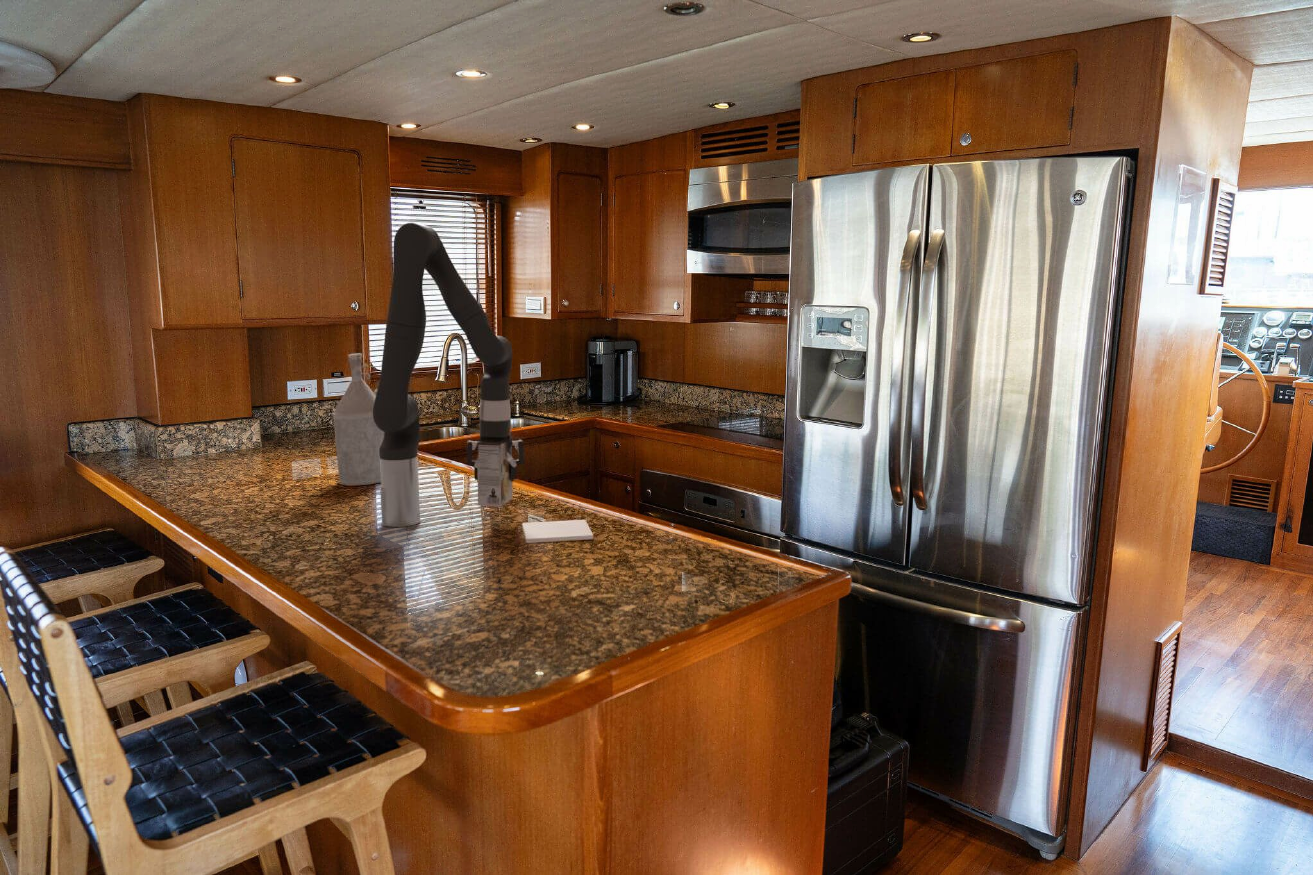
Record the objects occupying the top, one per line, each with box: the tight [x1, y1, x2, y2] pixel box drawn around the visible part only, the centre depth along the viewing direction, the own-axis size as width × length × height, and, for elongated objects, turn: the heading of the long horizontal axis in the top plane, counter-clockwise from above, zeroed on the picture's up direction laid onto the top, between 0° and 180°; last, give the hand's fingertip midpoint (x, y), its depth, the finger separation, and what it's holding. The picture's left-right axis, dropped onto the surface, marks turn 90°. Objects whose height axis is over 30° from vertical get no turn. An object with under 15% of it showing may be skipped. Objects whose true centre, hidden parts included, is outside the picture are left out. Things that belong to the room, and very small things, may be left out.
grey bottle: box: [332, 352, 384, 487], centre depth 263 cm, size 13×17×40 cm
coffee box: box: [476, 436, 514, 508], centre depth 215 cm, size 9×6×16 cm
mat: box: [521, 519, 594, 544], centre depth 212 cm, size 16×14×1 cm
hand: (495, 481), depth 216 cm, fingers closed on coffee box, 8 cm apart
